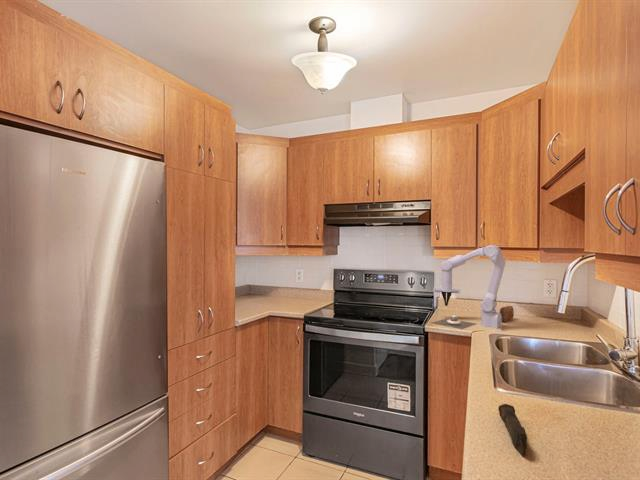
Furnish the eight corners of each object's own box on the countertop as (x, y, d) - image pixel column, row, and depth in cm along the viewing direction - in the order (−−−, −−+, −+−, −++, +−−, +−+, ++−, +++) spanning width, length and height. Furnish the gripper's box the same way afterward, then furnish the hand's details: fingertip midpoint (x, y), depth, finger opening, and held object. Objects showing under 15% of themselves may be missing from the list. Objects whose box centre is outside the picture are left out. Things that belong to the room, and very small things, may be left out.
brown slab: (504, 323, 209) (504, 308, 209) (498, 322, 211) (498, 307, 211) (514, 319, 219) (514, 305, 219) (508, 318, 222) (508, 304, 222)
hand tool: (498, 416, 100) (498, 399, 99) (514, 419, 98) (514, 401, 98) (509, 456, 82) (509, 435, 82) (530, 459, 80) (530, 438, 80)
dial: (460, 325, 197) (460, 319, 197) (446, 323, 200) (447, 317, 200) (460, 320, 208) (460, 314, 208) (447, 319, 210) (447, 313, 210)
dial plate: (477, 325, 202) (477, 323, 202) (462, 331, 189) (462, 328, 189) (446, 320, 214) (446, 318, 214) (430, 325, 202) (430, 322, 202)
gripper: (460, 281, 212) (459, 305, 212) (433, 280, 216) (433, 303, 216) (460, 282, 205) (460, 307, 205) (433, 281, 210) (432, 305, 210)
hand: (446, 305), depth 210 cm, fingers closed
